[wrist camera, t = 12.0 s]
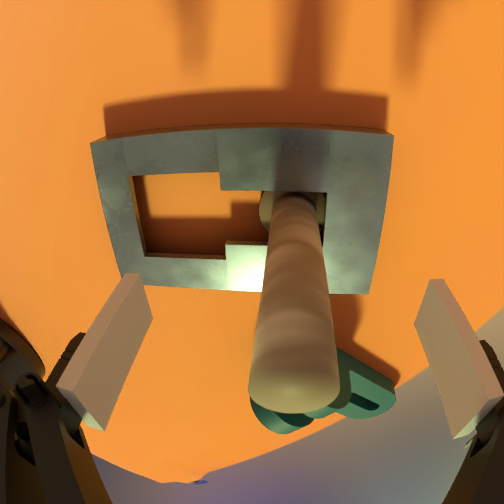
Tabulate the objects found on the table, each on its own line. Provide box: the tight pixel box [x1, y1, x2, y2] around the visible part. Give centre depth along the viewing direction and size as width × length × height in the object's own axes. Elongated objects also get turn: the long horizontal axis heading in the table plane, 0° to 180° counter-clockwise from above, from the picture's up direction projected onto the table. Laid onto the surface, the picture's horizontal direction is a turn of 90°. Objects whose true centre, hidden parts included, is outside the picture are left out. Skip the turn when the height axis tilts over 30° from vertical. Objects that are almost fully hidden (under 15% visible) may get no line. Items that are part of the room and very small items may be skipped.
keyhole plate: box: [90, 123, 394, 294], centre depth 21 cm, size 20×12×2 cm, turn 92°
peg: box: [248, 191, 340, 413], centre depth 16 cm, size 5×5×15 cm
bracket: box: [250, 347, 396, 434], centre depth 28 cm, size 18×7×8 cm, turn 53°
